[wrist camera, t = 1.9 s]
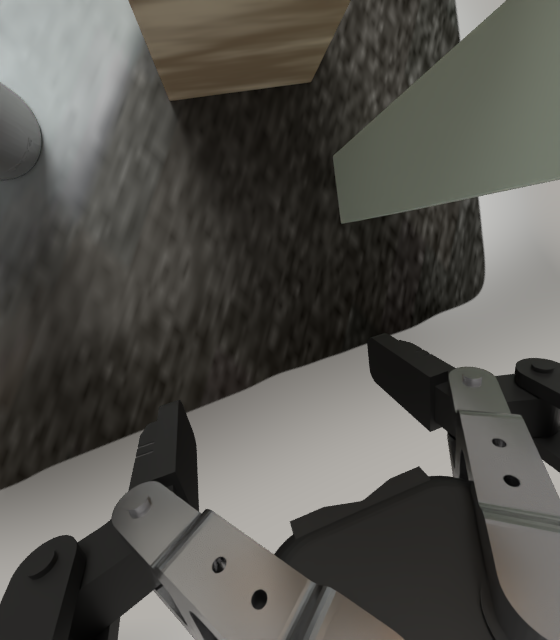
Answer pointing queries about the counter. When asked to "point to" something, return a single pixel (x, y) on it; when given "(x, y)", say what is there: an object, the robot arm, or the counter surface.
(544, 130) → the grooved green pillar
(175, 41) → the stand
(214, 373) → the counter surface
